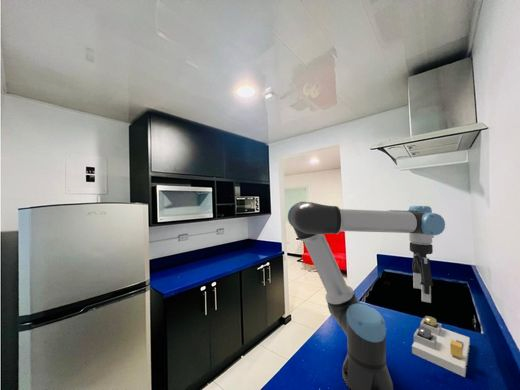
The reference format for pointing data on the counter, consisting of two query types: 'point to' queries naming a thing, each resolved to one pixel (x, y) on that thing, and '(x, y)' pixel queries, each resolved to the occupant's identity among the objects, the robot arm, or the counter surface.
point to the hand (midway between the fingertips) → (421, 294)
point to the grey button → (425, 333)
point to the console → (441, 348)
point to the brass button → (430, 321)
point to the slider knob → (456, 349)
